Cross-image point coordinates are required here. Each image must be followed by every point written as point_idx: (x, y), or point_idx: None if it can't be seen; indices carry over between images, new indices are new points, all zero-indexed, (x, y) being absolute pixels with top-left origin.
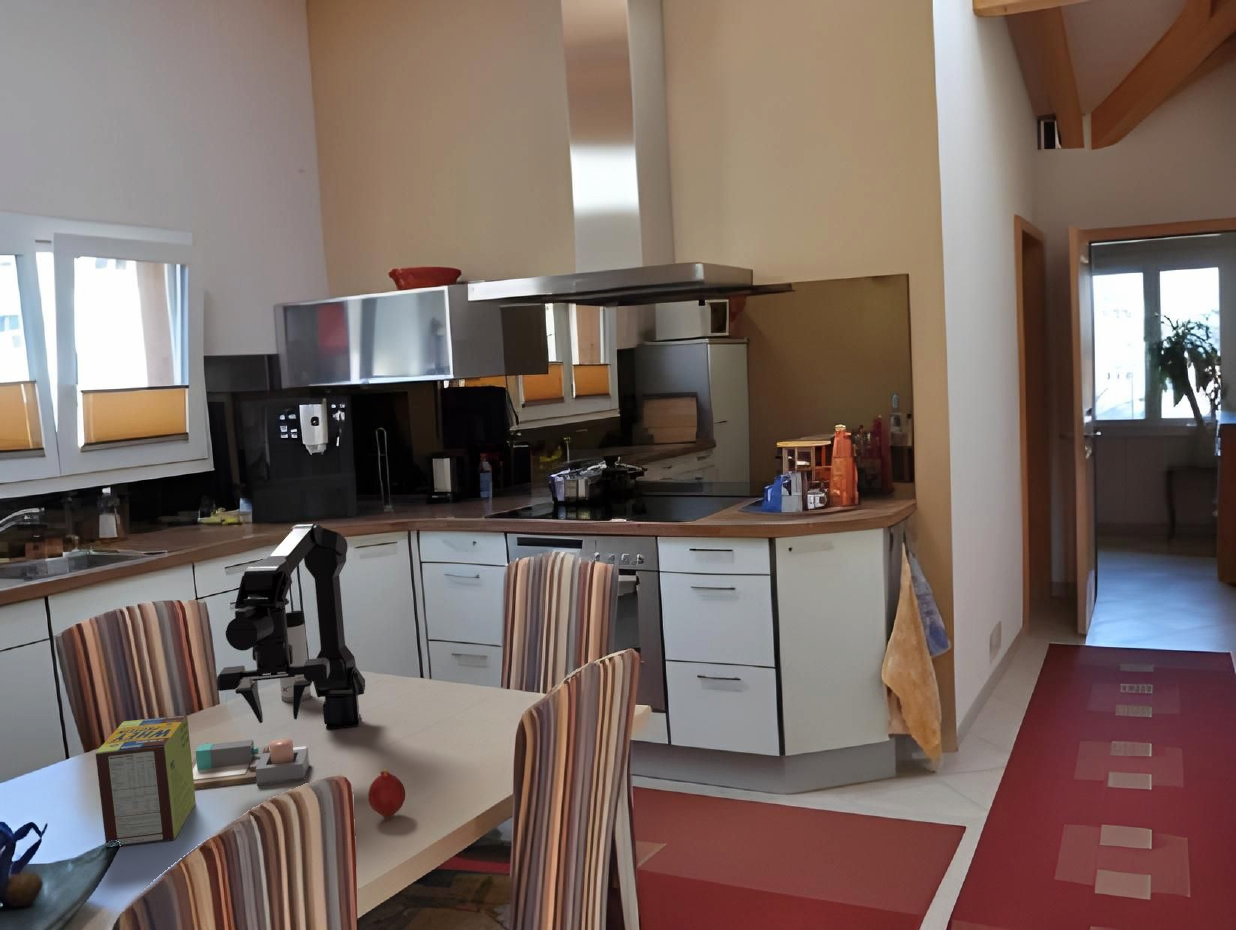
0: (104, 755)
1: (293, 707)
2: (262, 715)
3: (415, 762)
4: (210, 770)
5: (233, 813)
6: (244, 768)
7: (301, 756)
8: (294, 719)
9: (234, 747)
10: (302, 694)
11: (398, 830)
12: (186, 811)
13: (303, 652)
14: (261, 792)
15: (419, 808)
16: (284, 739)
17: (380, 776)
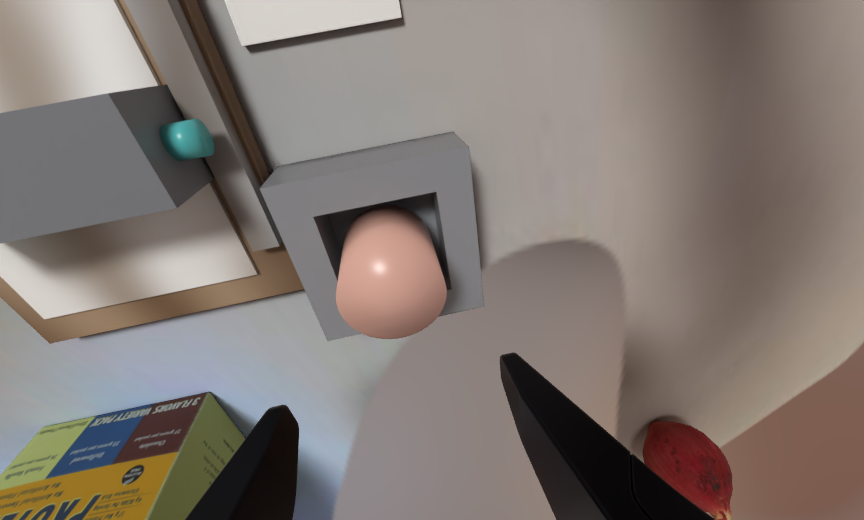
0: None
1: (546, 493)
2: (274, 440)
3: (797, 164)
4: (60, 234)
5: (353, 425)
6: (218, 226)
7: (463, 241)
8: (502, 377)
9: (89, 224)
10: (679, 506)
11: None
12: None
13: None
14: (369, 339)
15: (708, 395)
16: (396, 262)
17: (707, 511)
